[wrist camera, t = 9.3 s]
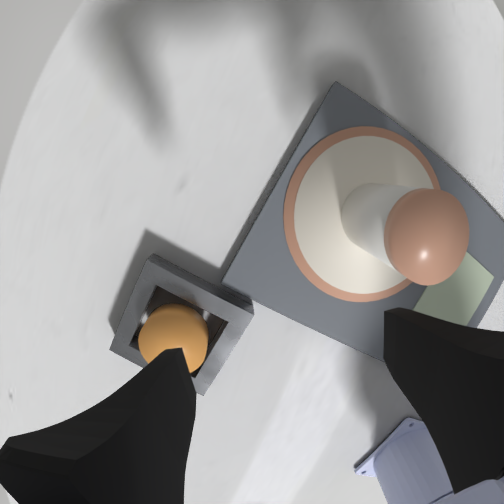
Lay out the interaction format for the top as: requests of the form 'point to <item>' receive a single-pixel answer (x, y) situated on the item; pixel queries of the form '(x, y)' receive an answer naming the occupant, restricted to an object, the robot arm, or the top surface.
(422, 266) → the white and brown cylinder
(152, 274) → the button housing
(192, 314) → the button
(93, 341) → the top surface
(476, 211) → the picture board
